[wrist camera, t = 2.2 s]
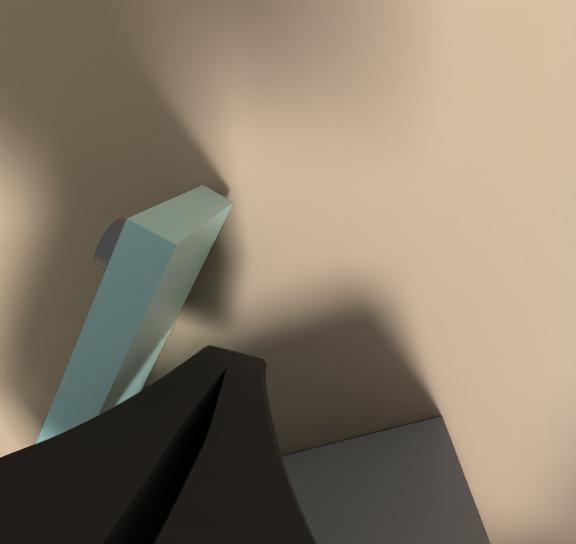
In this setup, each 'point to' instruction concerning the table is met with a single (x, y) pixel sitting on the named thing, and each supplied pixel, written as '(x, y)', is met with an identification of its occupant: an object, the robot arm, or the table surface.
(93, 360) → the teal bar
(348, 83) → the table surface
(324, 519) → the camera case
